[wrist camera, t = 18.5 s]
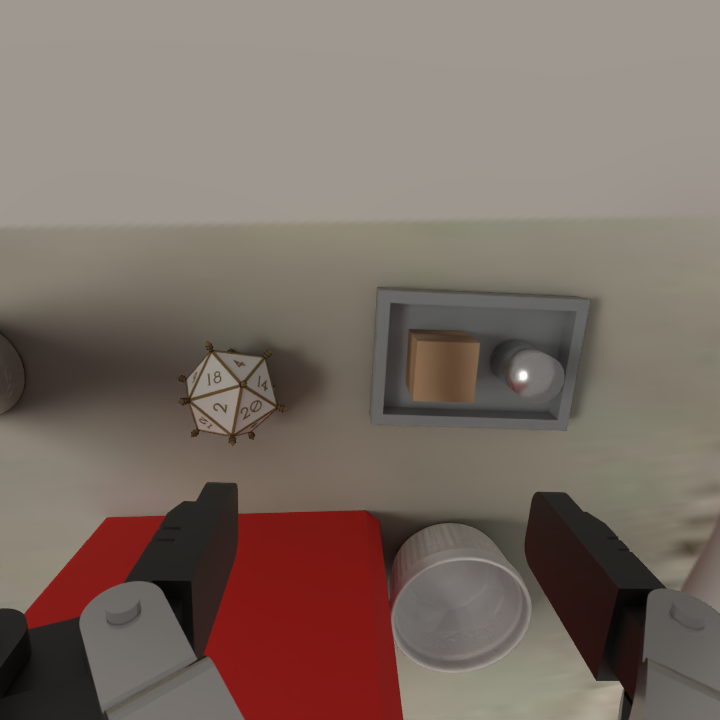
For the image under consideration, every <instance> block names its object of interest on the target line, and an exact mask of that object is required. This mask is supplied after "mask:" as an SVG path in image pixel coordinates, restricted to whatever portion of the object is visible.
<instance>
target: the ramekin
mask: <svg viewBox="0 0 720 720" xmlns="http://www.w3.org/2000/svg"><path fill="white" fill-rule="evenodd" d="M390 596H391V598H390V602H389V607H390V615H391V624H392V632H393V638H394V640H395V642H396V644H397V645H398V647H399V648H400V650H401V651H402V652H403V653H404V654H405V655H406V656H407V657H408V658H409V659H410V660H412V661H413V662H415V663H416V664H418V665H420V666H422V667H424V668H427V669H430V670H433V671H438V672H444V673H462V672H469V671H474V670H478V669H481V668H484V667H487V666H489V665H492V664H493V663H495V662H497V661H499V660H501V659H502V658H504V657H505V656H506V655H508V654H509V653H510V652H511V651H512V650H513V649H514V648H515V647H516V646H517V645H518V644H519V643H520V641H521V640H522V639H523V637H524V635H525V634H526V631H527V629H528V627H529V624H530V620H531V613H532V603H531V598H530V595H529V592H528V590H527V588H526V585H525V583H524V581H523V579H522V577H521V576H520V574H519V573H518V572H517V570H516V569H515V568H514V567H513V566H512V565H511V564H510V563H509V562H508V561H507V559H506V558H505V557H504V555H503V554H502V552H501V551H500V550H499V548H498V547H497V546H496V545H495V543H494V542H493V541H492V540H491V539H490V538H489V537H487V536H486V535H485V534H484V533H482V532H480V531H479V530H478V529H475V528H473V527H471V526H467V525H463V524H458V523H443V524H437V525H433V526H430V527H427V528H425V529H422V530H421V531H419V532H417V533H416V534H414V535H413V536H411V537H410V538H409V539H408V540H407V541H406V542H405V543H404V544H403V545H402V546H401V548H400V550H399V551H398V552H397V555H396V557H395V558H394V563H393V565H392V571H391V581H390Z"/></svg>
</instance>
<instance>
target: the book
mask: <svg viewBox="0 0 720 720" xmlns="http://www.w3.org/2000/svg"><path fill="white" fill-rule="evenodd" d="M165 517H166V516H145V517H109V518H106V519H105V520H104V522H103V523H102V524H101V525H100V526H99V527H98V529H97V530H96V531H95V532H94V533H93V534H92V536H91V537H90V538H89V539H88V540H87V541H86V542H85V544H84V545H83V546H82V547H81V548H80V549H79V551H78V552H77V553H76V554H75V555H74V556H73V558H72V559H71V560H70V561H69V562H68V563H67V565H66V566H65V567H64V568H63V569H62V570H61V572H60V573H59V574H58V575H57V576H56V577H55V579H54V580H53V581H52V582H51V583H50V584H49V586H48V587H47V588H46V589H45V590H44V591H43V593H42V594H41V595H40V596H39V597H38V598H37V600H36V601H35V602H34V603H33V604H32V605H31V607H30V608H29V609H28V610H27V611H26V612H25V614H24V615H25V617H26V619H27V624H28V629H31V628H35V627H39V626H44V625H48V624H52V623H57V622H61V621H65V620H69V619H73V618H76V617H79V616H81V614H82V612H83V610H84V609H85V607H86V606H87V605H88V604H89V603H90V602H91V601H92V600H93V599H94V598H95V597H96V596H98V595H99V594H101V593H102V592H104V591H106V590H107V589H110V588H112V587H114V586H117V585H120V584H123V583H124V581H125V579H126V578H127V576H128V575H129V573H130V572H131V570H132V568H133V567H134V565H135V564H136V562H137V561H138V559H139V557H140V556H141V554H142V553H143V551H144V550H145V548H146V546H147V545H148V543H149V542H151V539H152V537H153V535H154V534H155V532H156V531H157V530H158V529H159V526H160V524H161V523H162V521H163V520H164V518H165ZM204 655H207V656H208V657H209V658H210V659H211V660H212V661H213V663H214V665H215V666H216V668H217V670H218V672H219V674H220V676H221V677H222V679H223V681H224V683H225V685H226V687H227V688H228V690H229V692H230V694H231V696H232V698H233V699H234V701H235V703H236V705H237V707H238V709H239V710H240V712H241V714H242V716H243V718H244V720H403V714H402V706H401V698H400V689H399V681H398V673H397V665H396V657H395V648H394V640H393V632H392V624H391V615H390V607H389V599H388V591H387V582H386V574H385V566H384V558H383V549H382V541H381V533H380V525H379V521H378V520H377V519H375V518H374V517H373V516H372V515H371V514H369V513H368V512H367V511H366V510H361V511H325V512H289V513H253V514H238V546H237V553H236V558H235V561H234V564H233V567H232V570H231V573H230V576H229V579H228V583H227V586H226V589H225V592H224V595H223V598H222V601H221V604H220V607H219V610H218V613H217V616H216V619H215V622H214V625H213V628H212V631H211V634H210V637H209V640H208V643H207V646H206V649H205V652H204ZM204 655H203V656H204Z"/></svg>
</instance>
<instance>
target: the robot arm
mask: <svg viewBox="0 0 720 720" xmlns="http://www.w3.org/2000/svg"><path fill="white" fill-rule="evenodd" d="M24 383H25V377H24V369H23V365H22V361H21V359H20V357H19V355H18V353H17V351H16V350H15V349H14V347H13V346H12V345H11V343H10V342H9V341H8V340H7V339H6V338H5V337H3V336H2V335H1V334H0V415H1V414H2V413H4V412H6V411H7V410H9V409H10V408H12V407H13V406H14V405H15V404H16V402H17V401H18V400H19V398H20V396H21V394H22V392H23V388H24ZM237 546H238V488H237V484H236V483H217V482H207V483H206V484H205V486H204V488H203V490H202V492H201V493H200V495H199V497H198V499H197V501H196V502H193V501H183V502H182V503H181V504H179V505H178V506H177V507H175V508H174V509H173V510H171V511H170V512H168V513H167V515H166V517H165V518H164V520H163V521H162V523H161V524H160V526H159V529H158V530H157V531H156V532H155V534H154V535H153V537H152V539H151V542H149V543H148V545H147V546H146V548H145V550H144V551H143V553H142V554H141V556H140V557H139V559H138V561H137V562H136V564H135V565H134V567H133V568H132V570H131V572H130V573H129V575H128V576H127V578H126V579H125V581H124V583H123V584H120V585H117V586H114V587H112V588H110V589H107V590H106V591H104V592H102V593H101V594H99V595H98V596H96V597H95V598H94V599H93V600H92V601H91V602H90V603H89V604H88V605H87V606H86V607H85V609H84V610H83V612H82V614H81V616H79V617H76V618H73V619H69V620H65V621H61V622H57V623H52V624H48V625H44V626H39V627H35V628H31V629H28V624H27V619H26V617H25V615H24V614H23V613H22V612H20V611H18V610H14V609H4V608H3V609H0V720H244V718H243V716H242V714H241V712H240V710H239V709H238V707H237V705H236V703H235V701H234V699H233V698H232V696H231V694H230V692H229V690H228V688H227V687H226V685H225V683H224V681H223V679H222V677H221V676H220V674H219V672H218V670H217V668H216V666H215V665H214V663H213V661H212V660H211V659H210V658H209V657H208V656H207V655H204V652H205V649H206V646H207V643H208V640H209V637H210V634H211V631H212V628H213V625H214V622H215V619H216V616H217V613H218V610H219V607H220V604H221V601H222V598H223V595H224V592H225V589H226V586H227V583H228V579H229V576H230V573H231V570H232V567H233V564H234V561H235V558H236V553H237ZM525 555H526V559H527V563H528V565H529V567H530V569H531V570H532V572H533V574H534V576H535V577H536V579H537V581H538V582H539V584H540V586H541V587H542V589H543V591H544V593H545V594H546V596H547V598H548V599H549V601H550V603H551V604H552V606H553V608H554V610H555V611H556V613H557V615H558V616H559V618H560V620H561V621H562V623H563V625H564V627H565V628H566V630H567V632H568V633H569V635H570V637H571V639H572V640H573V642H574V644H575V645H576V647H577V649H578V650H579V652H580V654H581V656H582V657H583V659H584V661H585V662H586V664H587V666H588V667H589V669H590V671H591V673H592V674H593V676H594V678H595V679H596V681H620V683H621V684H622V686H623V688H624V689H623V693H622V697H621V700H620V707H619V716H618V720H720V613H718V612H717V611H716V610H715V609H714V608H712V607H711V606H709V605H708V604H706V603H705V602H703V601H701V600H700V599H698V598H696V597H694V596H691V595H689V594H686V593H683V592H681V591H677V590H672V589H667V588H666V587H665V586H664V585H663V584H662V583H661V582H660V581H659V580H658V579H657V578H656V577H655V576H654V575H653V574H652V573H651V572H650V570H649V569H648V568H647V567H646V566H645V565H644V564H643V563H642V562H641V561H640V560H639V559H638V558H637V557H636V556H635V555H634V554H633V553H632V552H630V551H629V548H628V547H627V546H626V545H625V544H624V543H623V542H622V541H621V540H618V537H617V536H616V535H615V534H614V532H613V531H612V530H611V529H610V528H609V527H608V526H607V525H606V524H605V523H603V522H602V521H600V520H599V519H597V518H595V517H594V516H592V515H591V514H589V513H588V512H583V511H582V510H581V509H580V507H579V506H578V505H577V504H576V503H575V502H574V501H573V500H572V499H571V498H570V496H569V495H568V494H566V493H563V492H536V493H535V494H534V496H533V498H532V502H531V508H530V514H529V520H528V526H527V531H526V537H525ZM203 655H204V656H203Z"/></svg>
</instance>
